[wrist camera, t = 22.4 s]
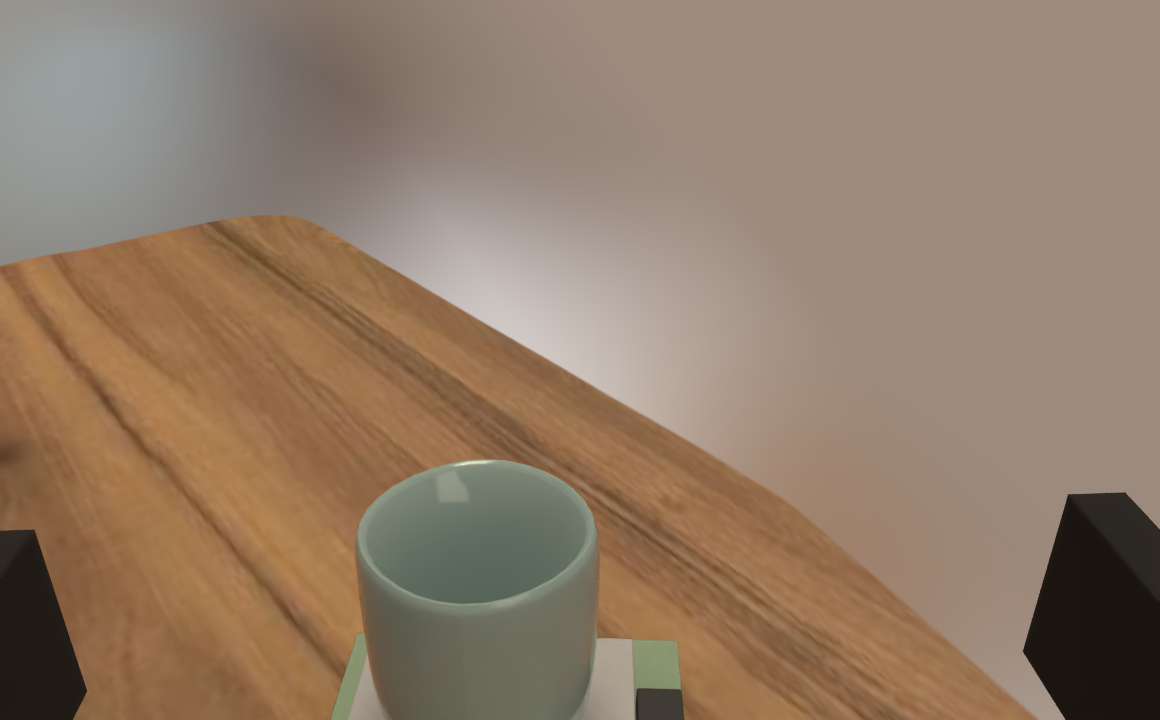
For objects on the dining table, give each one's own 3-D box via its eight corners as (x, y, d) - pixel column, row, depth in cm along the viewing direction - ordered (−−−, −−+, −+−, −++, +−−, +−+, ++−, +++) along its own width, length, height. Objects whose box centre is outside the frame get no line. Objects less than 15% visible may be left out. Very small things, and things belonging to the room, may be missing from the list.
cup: (635, 745, 36) (646, 529, 32) (468, 879, 31) (451, 648, 27) (502, 634, 41) (495, 434, 36) (341, 736, 36) (308, 520, 32)
